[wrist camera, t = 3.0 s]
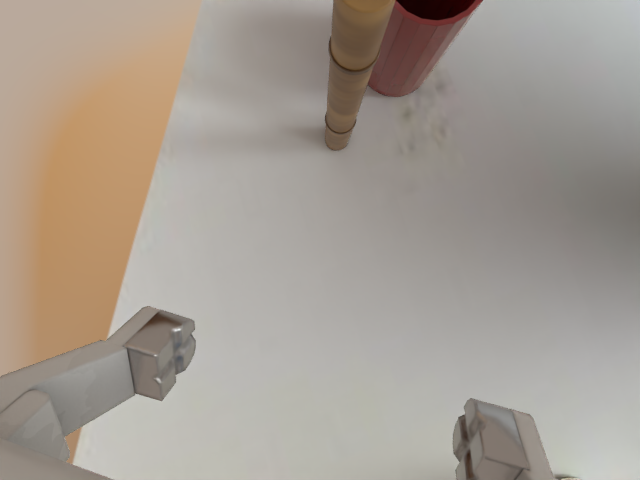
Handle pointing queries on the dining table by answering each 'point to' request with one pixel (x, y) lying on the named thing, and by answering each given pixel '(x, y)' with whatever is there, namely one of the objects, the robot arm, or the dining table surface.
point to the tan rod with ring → (352, 62)
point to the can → (417, 42)
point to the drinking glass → (570, 479)
